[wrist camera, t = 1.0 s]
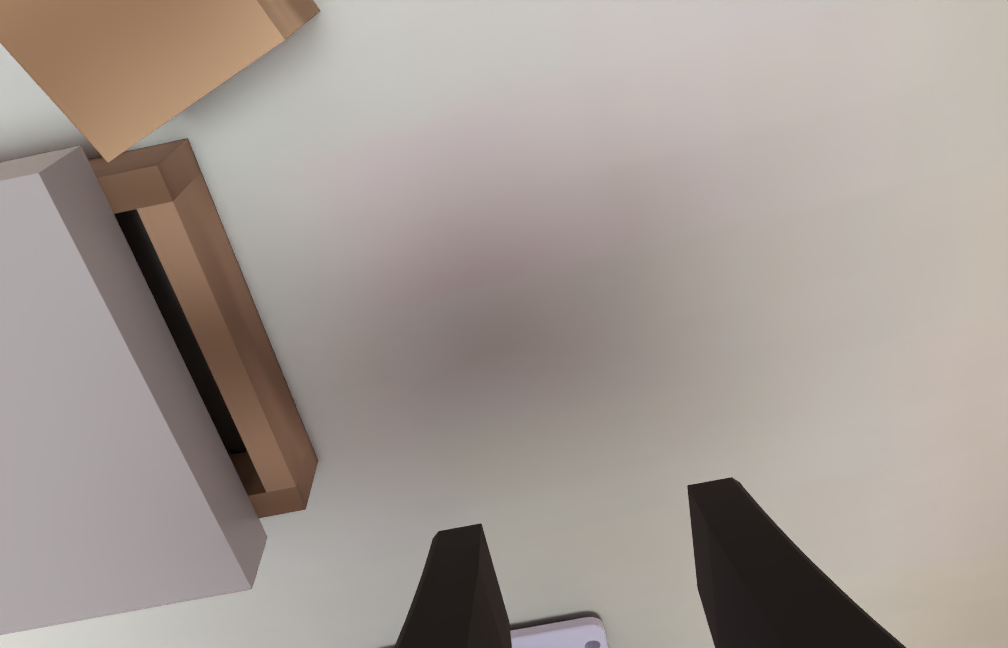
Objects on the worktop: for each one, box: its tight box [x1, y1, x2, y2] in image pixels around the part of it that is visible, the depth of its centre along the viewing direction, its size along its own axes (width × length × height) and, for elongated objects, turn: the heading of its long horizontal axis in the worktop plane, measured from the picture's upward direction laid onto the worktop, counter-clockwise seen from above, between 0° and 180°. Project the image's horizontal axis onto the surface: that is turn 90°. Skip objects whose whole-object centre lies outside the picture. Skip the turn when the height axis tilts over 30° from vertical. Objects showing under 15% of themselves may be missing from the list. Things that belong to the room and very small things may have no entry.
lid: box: [0, 145, 267, 635], centre depth 17 cm, size 11×8×2 cm
